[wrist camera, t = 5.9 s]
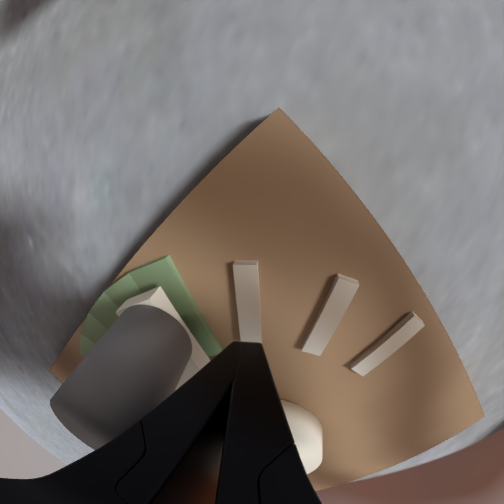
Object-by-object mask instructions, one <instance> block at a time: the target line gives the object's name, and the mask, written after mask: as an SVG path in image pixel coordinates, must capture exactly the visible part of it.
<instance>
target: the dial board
mask: <svg viewBox="0 0 504 504" xmlns="http://www.w3.org/2000/svg"><path fill="white" fill-rule="evenodd" d="M159 286H161V288H162V289H163V291H164V293H165V294H166V296H167V297H168V299H169V300H170V302H171V304H172V305H173V307H174V308H175V310H176V311H177V313H178V314H179V316H180V317H181V319H182V320H183V322H184V323H185V325H186V326H187V328H188V329H189V331H190V332H191V333H192V335H193V336H194V338H195V339H196V341H197V342H198V343H199V345H200V346H201V348H202V349H203V350H204V352H205V353H206V355H207V356H208V357H209V359H210V360H212V359H213V358H214V357H215V356H217V355H218V354H219V353H220V352H221V351H222V350H223V349H225V348H226V347H227V346H228V345H229V344H230V343H231V342H233V341H244V342H260V343H262V345H263V348H264V351H265V354H266V357H267V360H268V363H269V366H270V370H271V373H272V376H273V379H274V382H275V385H276V388H277V391H278V394H279V397H280V399H281V400H285V401H288V402H291V403H294V404H297V405H299V406H301V407H303V408H305V409H307V410H308V411H310V412H311V413H313V414H314V415H315V416H316V417H317V418H318V420H319V421H320V423H321V425H322V462H321V464H320V465H319V467H318V468H317V469H315V470H314V471H312V472H311V473H309V474H307V476H308V478H309V480H310V482H311V484H312V486H313V488H314V490H315V491H317V490H322V489H325V488H329V487H332V486H336V485H340V484H343V483H347V482H350V481H353V480H356V479H359V478H362V477H365V476H368V475H371V474H373V473H376V472H379V471H381V470H384V469H386V468H389V467H391V466H394V465H396V464H399V463H401V462H403V461H405V460H408V459H410V458H412V457H414V456H416V455H418V454H420V453H422V452H425V451H427V450H429V449H430V448H432V447H434V446H436V445H438V444H440V443H442V442H444V441H445V440H447V439H449V438H451V437H453V436H454V435H456V434H458V433H459V432H461V431H463V430H464V429H466V428H467V427H469V426H471V425H472V424H474V423H475V422H477V421H478V420H480V419H481V418H483V417H484V416H485V415H484V413H483V410H482V408H481V405H480V403H479V400H478V398H477V395H476V393H475V390H474V388H473V386H472V384H471V381H470V379H469V377H468V375H467V372H466V370H465V368H464V366H463V364H462V362H461V360H460V358H459V356H458V353H457V351H456V349H455V347H454V345H453V344H452V342H451V340H450V338H449V336H448V334H447V332H446V330H445V328H444V326H443V325H442V323H441V321H440V319H439V317H438V316H437V314H436V312H435V310H434V309H433V307H432V305H431V303H430V302H429V300H428V298H427V297H426V295H425V293H424V292H423V290H422V288H421V287H420V285H419V283H418V282H417V280H416V279H415V277H414V275H413V274H412V272H411V271H410V269H409V268H408V266H407V265H406V263H405V261H404V260H403V258H402V257H401V255H400V254H399V252H398V251H397V249H396V248H395V247H394V245H393V244H392V242H391V241H390V239H389V238H388V236H387V235H386V234H385V232H384V231H383V229H382V228H381V227H380V225H379V224H378V223H377V221H376V220H375V218H374V217H373V216H372V214H371V213H370V212H369V210H368V209H367V208H366V206H365V205H364V204H363V203H362V201H361V200H360V199H359V197H358V196H357V195H356V194H355V192H354V191H353V190H352V189H351V187H350V186H349V185H348V184H347V182H346V181H345V180H344V179H343V177H342V176H341V175H340V174H339V173H338V171H337V170H336V169H335V168H334V167H333V165H332V164H331V163H330V162H329V161H328V160H327V158H326V157H325V156H324V155H323V154H322V153H321V152H320V150H319V149H318V148H317V147H316V146H315V145H314V144H313V143H312V141H311V140H310V139H309V138H308V137H307V136H306V135H305V134H304V133H303V132H302V131H301V130H300V128H299V127H298V126H297V125H296V124H295V123H294V122H293V121H292V120H291V119H290V118H289V117H288V116H287V115H286V114H285V113H284V112H283V111H282V110H281V109H280V108H277V109H276V110H275V111H274V112H273V113H272V114H271V115H270V116H268V117H267V118H266V119H265V120H264V121H263V122H262V123H261V124H260V125H258V126H257V127H256V128H255V129H254V130H253V131H252V132H251V133H250V134H249V135H248V136H247V137H245V138H244V139H243V140H242V141H241V142H240V143H239V144H238V145H237V146H236V147H235V148H234V149H233V150H232V151H231V152H230V153H229V154H228V155H227V156H226V157H225V158H224V159H223V160H222V161H221V162H220V163H219V164H218V165H217V166H216V167H215V168H214V169H213V170H212V171H211V172H210V173H209V174H208V175H207V176H206V177H205V178H204V179H203V180H202V181H201V182H200V183H199V184H198V185H197V186H196V187H195V188H194V189H193V190H192V191H191V192H190V193H189V194H188V195H187V196H186V197H185V199H184V200H183V201H182V202H181V203H180V204H179V205H178V206H177V207H176V208H175V209H174V210H173V212H172V213H171V214H170V215H169V216H168V217H167V218H166V219H165V220H164V222H163V223H162V224H161V225H160V226H159V227H158V228H157V229H156V231H155V232H154V233H153V234H152V235H151V236H150V237H149V239H148V240H147V241H146V242H145V243H144V244H143V246H142V247H141V248H140V249H139V250H138V251H137V253H136V254H135V255H134V256H133V257H132V259H131V260H130V261H129V262H128V263H127V265H126V266H125V267H124V268H123V270H122V271H121V272H120V273H119V275H118V276H117V277H116V278H115V280H114V281H113V282H112V283H111V285H110V286H109V287H108V288H107V289H106V290H105V291H104V292H103V293H102V295H101V296H100V297H99V299H98V300H97V301H96V303H95V304H94V305H93V307H92V308H91V309H90V311H89V312H88V315H87V316H86V318H85V319H84V320H83V322H82V323H81V324H80V326H79V327H78V329H77V330H76V331H75V333H74V334H73V336H72V337H71V339H70V340H69V341H68V343H67V344H66V346H65V347H64V349H63V350H62V352H61V353H60V355H59V356H58V358H57V359H56V361H55V362H54V364H53V365H52V367H51V368H50V370H49V371H50V372H51V373H52V374H53V375H54V376H55V377H56V378H57V379H58V380H59V381H60V382H61V383H62V384H63V383H64V382H65V381H66V379H67V378H68V377H69V376H70V374H71V373H72V372H73V371H74V369H75V368H76V367H77V366H78V364H79V363H80V362H81V361H82V360H83V358H84V357H85V356H86V355H87V354H88V352H89V351H90V350H91V349H92V348H93V346H94V345H95V344H96V343H97V342H98V340H99V339H100V338H101V337H102V336H103V335H104V333H105V332H106V331H107V330H108V329H109V328H110V327H111V325H112V324H113V323H114V322H115V321H116V320H117V318H118V315H117V314H116V311H117V310H118V309H119V308H120V307H121V306H122V304H123V303H124V302H125V301H126V300H127V299H130V298H132V297H135V296H137V295H140V294H142V293H144V292H147V291H149V290H152V289H154V288H156V287H159ZM175 391H176V390H175Z"/></svg>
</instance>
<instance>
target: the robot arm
mask: <svg viewBox="0 0 504 504" xmlns="http://www.w3.org/2000/svg"><path fill="white" fill-rule="evenodd" d="M294 443H295V441H294V438H293V435H292V432H291V430H290V427H289V424H288V421H287V418H286V415H285V412H284V409H283V406H282V403H281V400H280V397H279V394H278V391H277V388H276V385H275V382H274V379H273V376H272V373H271V370H270V366H269V363H268V360H267V357H266V354H265V351H264V348H263V345H262V343H260V342H244V341H233V342H231V343H230V344H229V345H228V346H227V347H226V348H225V349H223V350H222V351H221V352H220V353H219V354H218V355H217V356H215V357H214V358H213V359H212V360H211V361H210V362H209V363H207V364H206V365H205V366H204V367H203V368H202V369H200V370H199V371H198V372H197V373H196V374H195V375H193V376H192V377H191V378H190V379H189V380H188V381H186V382H185V383H184V384H183V385H182V386H180V387H179V388H178V389H177V390H176V391H174V392H173V393H172V394H171V395H170V396H168V397H167V398H166V399H165V400H163V401H162V402H161V403H160V404H158V405H157V406H156V407H155V408H154V409H152V410H151V411H150V412H149V413H147V414H146V415H145V416H144V417H142V418H141V420H138V421H137V422H136V423H134V424H133V425H132V426H131V427H129V428H128V429H127V430H125V431H124V432H122V433H121V434H120V435H118V436H117V437H115V438H114V439H113V440H111V441H110V442H108V443H106V444H105V445H103V446H101V447H100V448H98V449H97V450H95V451H93V452H91V453H90V454H88V455H86V456H84V457H82V458H81V459H79V460H77V461H75V462H73V463H71V464H69V465H67V466H65V467H64V468H62V469H60V470H58V471H56V472H54V473H51V474H49V475H46V476H43V477H39V478H34V479H8V478H0V504H322V503H321V501H320V500H319V498H318V496H317V494H316V492H315V490H314V488H313V486H312V484H311V482H310V480H309V478H308V476H307V473H306V471H305V468H304V466H303V463H302V461H301V458H300V455H299V452H298V449H297V447H296V444H294Z"/></svg>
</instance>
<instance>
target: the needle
mask: <svg viewBox="0 0 504 504" xmlns="http://www.w3.org/2000/svg"><path fill="white" fill-rule="evenodd" d="M116 314H117V315H118V318H117V320H116V321H115V322H114V323H113V324H112V325H111V327H110V328H109V329H108V330H107V331H106V332H105V333H104V335H103V336H102V337H101V338H100V339H99V340H98V342H97V343H96V344H95V345H94V346H93V348H92V349H91V350H90V351H89V352H88V354H87V355H86V356H85V357H84V358H83V360H82V361H81V362H80V363H79V364H78V366H77V367H76V368H75V369H74V371H73V372H72V373H71V374H70V376H69V377H68V378H67V379H66V381H65V382H64V383H63V384H62V386H61V387H60V388H59V389H58V391H57V392H56V393H55V394H54V396H53V397H52V398H51V400H50V405H51V408H52V410H53V412H54V413H55V415H56V416H57V418H58V419H59V420H60V422H61V423H62V424H63V425H64V426H65V427H66V428H67V429H68V430H69V431H70V432H71V433H72V434H73V435H75V436H76V437H77V438H78V439H80V440H81V441H82V442H84V443H85V444H86V445H88V446H89V447H91V448H93V449H94V450H97V449H98V448H100V447H101V446H103V445H105V444H106V443H108V442H110V441H111V440H113V439H114V438H115V437H117V436H118V435H120V434H121V433H122V432H124V431H125V430H127V429H128V428H129V427H131V426H132V425H133V424H134V423H136V422H137V421H138V420H141V418H142V417H144V416H145V415H146V414H147V413H149V412H150V411H151V410H152V409H154V408H155V407H156V406H157V405H158V404H160V403H161V402H162V401H163V400H165V399H166V398H167V397H168V396H170V395H171V394H172V393H173V392H174V391H175V390H177V389H178V388H179V387H180V386H182V385H183V384H184V383H185V382H186V381H188V380H189V379H190V378H191V377H192V376H193V375H195V374H196V373H197V372H198V371H199V370H200V369H202V368H203V367H204V366H205V365H206V364H207V363H209V362H210V361H211V360H210V359H209V357H208V356H207V355H206V353H205V352H204V350H203V349H202V348H201V346H200V345H199V343H198V342H197V341H196V339H195V338H194V336H193V335H192V333H191V332H190V331H189V329H188V328H187V326H186V325H185V323H184V322H183V320H182V319H181V317H180V316H179V314H178V313H177V311H176V310H175V308H174V307H173V305H172V304H171V302H170V300H169V299H168V297H167V296H166V294H165V293H164V291H163V289H162V288H161V286H159V287H156V288H154V289H152V290H149V291H147V292H144V293H142V294H140V295H137V296H135V297H132V298H130V299H127V300H126V301H125V302H124V303H123V304H122V306H121V307H120V308H119V309H118V310H117V311H116ZM280 400H281V399H280ZM281 403H282V406H283V409H284V412H285V415H286V418H287V421H288V424H289V427H290V430H291V432H292V435H293V438H294V441H295V443H294V444H296V447H297V449H298V452H299V455H300V458H301V461H302V463H303V466H304V468H305V471H306V473H307V474H309V473H311V472H312V471H314V470H315V469H317V468H318V467H319V465H320V464H321V462H322V425H321V423H320V421H319V420H318V418H317V417H316V416H315V415H314V414H313V413H311V412H310V411H308V410H307V409H305V408H303V407H301V406H299V405H297V404H294V403H291V402H288V401H285V400H281Z"/></svg>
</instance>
